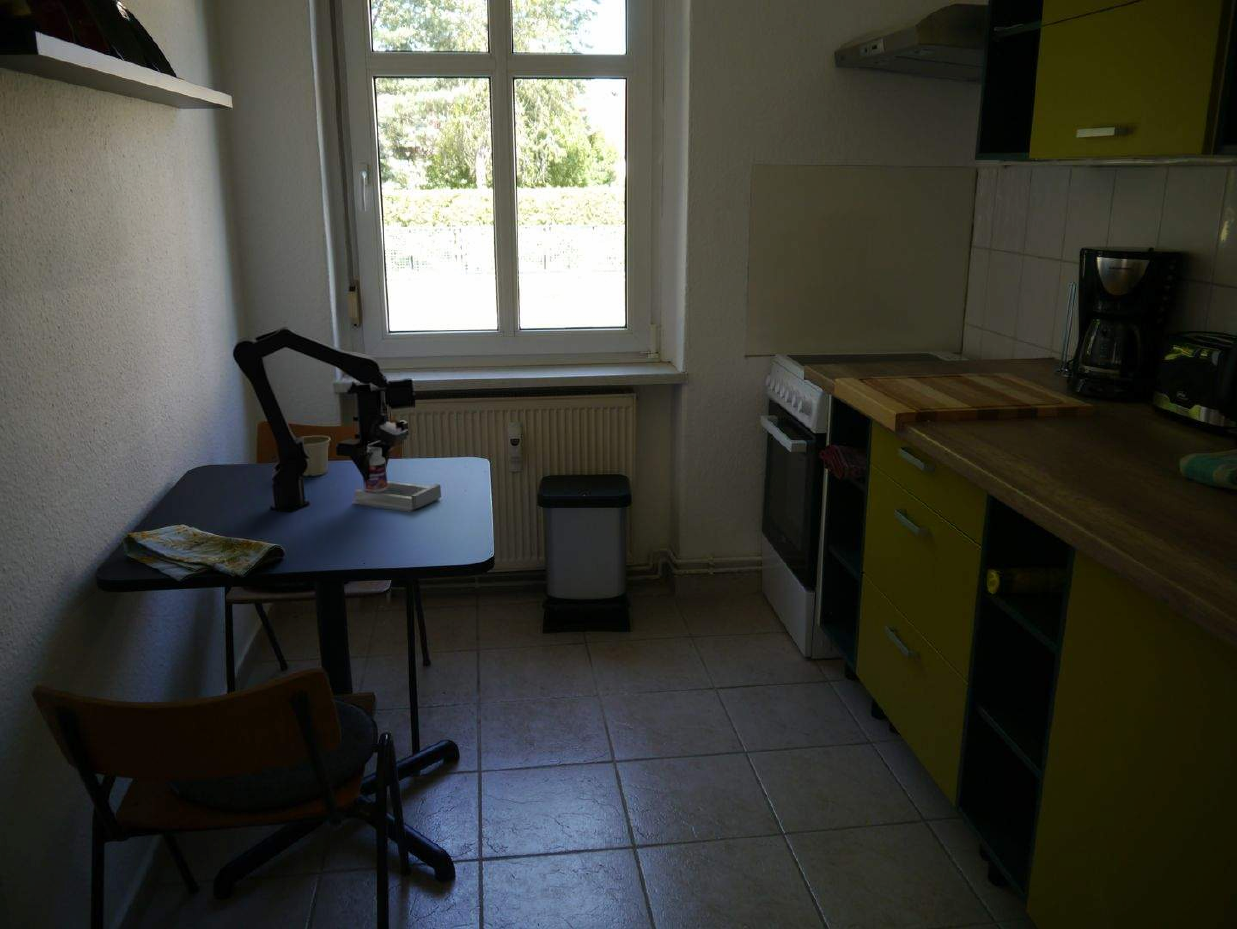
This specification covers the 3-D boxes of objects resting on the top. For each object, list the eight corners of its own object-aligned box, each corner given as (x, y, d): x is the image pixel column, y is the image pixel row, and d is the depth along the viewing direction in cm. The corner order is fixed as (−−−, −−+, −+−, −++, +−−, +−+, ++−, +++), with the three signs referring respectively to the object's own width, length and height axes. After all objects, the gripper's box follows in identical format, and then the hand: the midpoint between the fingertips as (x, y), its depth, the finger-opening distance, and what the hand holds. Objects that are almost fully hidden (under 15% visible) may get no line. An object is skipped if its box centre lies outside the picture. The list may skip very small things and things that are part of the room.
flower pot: (287, 475, 260) (283, 442, 257) (313, 466, 268) (310, 434, 265) (315, 480, 256) (311, 446, 253) (341, 470, 264) (338, 437, 261)
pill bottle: (366, 494, 236) (362, 453, 234) (362, 487, 241) (358, 447, 238) (389, 491, 238) (386, 450, 236) (385, 484, 243) (382, 445, 240)
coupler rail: (414, 512, 229) (413, 497, 228) (353, 503, 236) (351, 488, 235) (443, 498, 239) (442, 483, 238) (383, 490, 246) (382, 475, 245)
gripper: (371, 423, 223) (377, 491, 227) (423, 405, 239) (427, 470, 243) (331, 418, 228) (337, 486, 232) (384, 401, 244) (389, 465, 248)
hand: (374, 476), depth 239 cm, fingers closed on pill bottle, 5 cm apart
